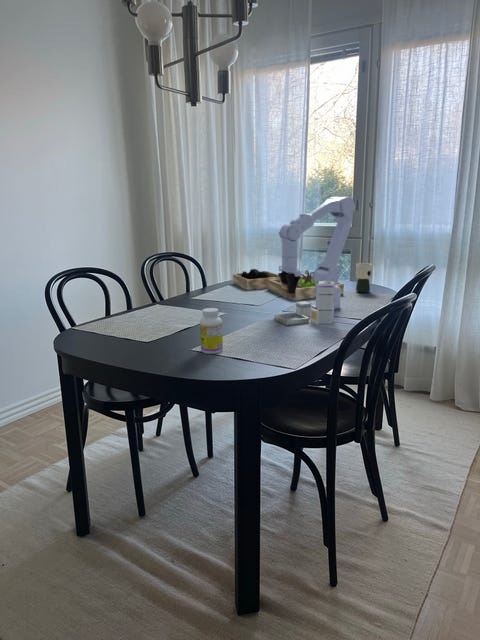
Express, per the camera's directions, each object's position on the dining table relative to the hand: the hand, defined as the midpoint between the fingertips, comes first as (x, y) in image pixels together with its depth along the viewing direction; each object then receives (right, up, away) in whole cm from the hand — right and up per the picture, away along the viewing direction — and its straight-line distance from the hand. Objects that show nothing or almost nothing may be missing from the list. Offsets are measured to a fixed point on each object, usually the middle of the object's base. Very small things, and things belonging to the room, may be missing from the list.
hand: (289, 292), depth 182 cm
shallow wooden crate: (-10, +7, +59) cm, 60 cm away
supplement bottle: (-27, -20, -39) cm, 52 cm away
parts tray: (0, -11, -8) cm, 14 cm away
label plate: (+8, -12, -12) cm, 18 cm away
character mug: (+38, +2, +38) cm, 54 cm away
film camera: (-11, +6, +57) cm, 58 cm away
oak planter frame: (+11, +2, +40) cm, 41 cm away
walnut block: (0, -2, 0) cm, 2 cm away
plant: (+12, +2, +39) cm, 41 cm away
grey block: (+5, -9, -1) cm, 10 cm away
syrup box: (+12, -11, -10) cm, 19 cm away
